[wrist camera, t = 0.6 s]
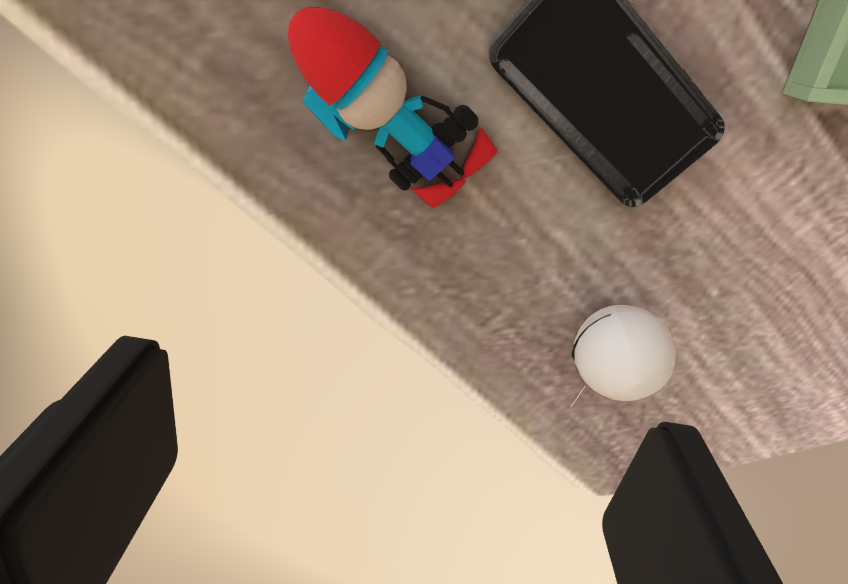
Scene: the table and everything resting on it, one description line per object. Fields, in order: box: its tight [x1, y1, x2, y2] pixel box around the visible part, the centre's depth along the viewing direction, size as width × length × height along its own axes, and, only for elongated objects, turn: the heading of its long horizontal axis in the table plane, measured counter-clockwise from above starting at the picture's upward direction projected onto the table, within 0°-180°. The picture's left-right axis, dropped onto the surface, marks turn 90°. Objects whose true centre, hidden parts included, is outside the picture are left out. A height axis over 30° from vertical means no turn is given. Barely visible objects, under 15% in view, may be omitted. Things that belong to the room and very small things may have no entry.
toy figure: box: [288, 7, 497, 208], centre depth 33 cm, size 8×5×15 cm
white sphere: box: [571, 305, 676, 407], centre depth 40 cm, size 10×7×7 cm
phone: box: [489, 0, 725, 207], centre depth 33 cm, size 8×1×15 cm
